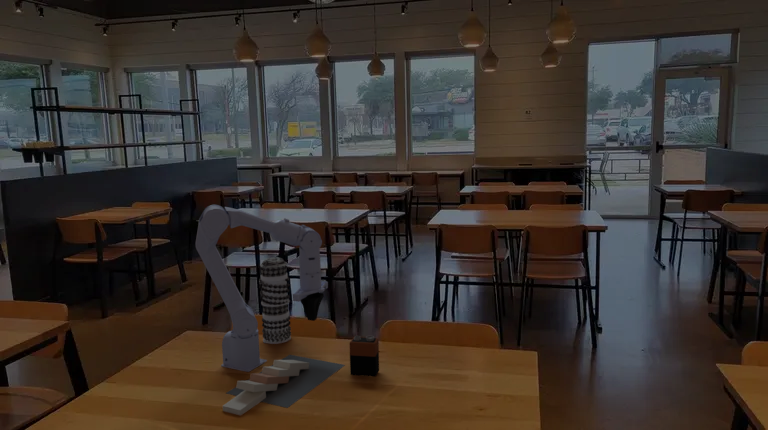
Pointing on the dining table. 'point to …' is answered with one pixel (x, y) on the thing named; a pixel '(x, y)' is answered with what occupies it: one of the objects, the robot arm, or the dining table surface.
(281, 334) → the decorative candle
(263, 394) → the domino
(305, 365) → the domino
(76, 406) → the dining table surface
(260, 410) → the dining table surface
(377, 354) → the battery
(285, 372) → the domino
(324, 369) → the mat
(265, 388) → the domino
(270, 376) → the domino
